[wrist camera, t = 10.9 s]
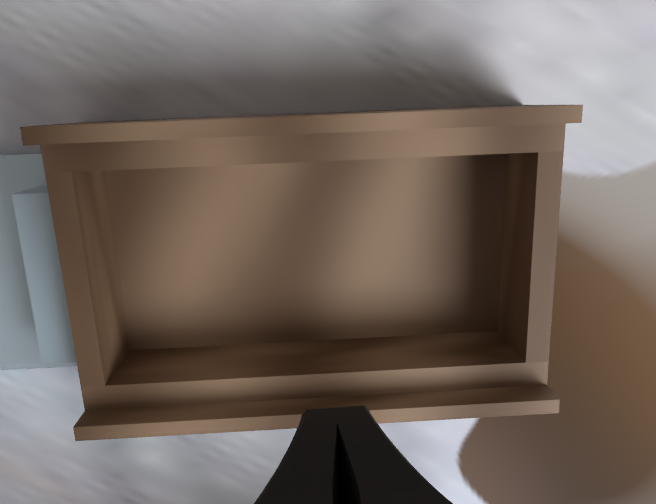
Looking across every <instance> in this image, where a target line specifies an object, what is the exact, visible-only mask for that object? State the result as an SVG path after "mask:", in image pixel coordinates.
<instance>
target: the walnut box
mask: <svg viewBox="0 0 656 504" xmlns="http://www.w3.org/2000/svg"><path fill="white" fill-rule="evenodd" d="M582 109H583V105H513V106H487V107H462V108H436V109H411V110H386V111H360V112H335V113H310V114H284V115H259V116H233V117H208V118H183V119H157V120H132V121H107V122H81V123H68V124H55V125H42V126H28V127H20V129H21V135H22V140H23V145H40V148H41V154H42V159H43V165H44V171H45V177H46V183H47V189H48V195H49V201H50V207H51V213H52V219H53V224H54V230H55V236H56V242H57V248H58V254H59V260H60V266H61V272H62V278H63V283H64V289H65V295H66V301H67V307H68V313H69V319H70V325H71V331H72V337H73V343H74V348H75V354H76V360H77V366H78V372H79V378H80V384H81V390H82V396H83V402H84V408H85V412H84V413H83V415H82V416H81V417H80V419H79V420H78V422H77V423H76V424H75V426H74V427H73V428H74V434H75V440H76V441H83V440H100V439H118V438H135V437H152V436H169V435H186V434H204V433H221V432H238V431H255V430H273V429H290V428H298V426H299V423H300V420H301V416H302V414H303V413H304V412H305V411H306V410H307V409H321V408H335V407H349V406H363V405H364V406H365V407H366V408H367V409H368V410H369V411H370V413H371V415H372V416H373V418H374V419H375V421H376V422H377V423H393V422H410V421H428V420H445V419H462V418H479V417H496V416H514V415H531V414H548V413H559V401H560V399H558V397H557V396H556V395H555V394H554V393H553V391H552V390H551V389H550V388H549V387H548V386H547V376H548V361H549V347H550V334H551V320H552V305H553V292H554V277H555V264H556V250H557V235H558V221H559V208H560V207H559V206H560V194H561V179H562V166H563V152H564V138H565V124H566V123H581V122H582Z"/></svg>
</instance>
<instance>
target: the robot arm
mask: <svg viewBox="0 0 656 504" xmlns="http://www.w3.org/2000/svg"><path fill="white" fill-rule="evenodd" d="M254 504H453V503H451V502H450V501H449V500H448V499H446V498H445V497H444V496H443V495H442V494H441V493H440V492H438V491H437V490H436V489H435V488H434V487H433V486H432V485H431V484H430V483H429V482H428V481H427V480H426V479H425V478H424V477H423V476H422V475H421V474H420V473H419V472H418V471H417V470H416V469H415V468H414V467H413V466H412V465H411V464H410V463H409V462H408V461H407V460H406V458H405V457H404V456H403V455H402V454H401V453H400V452H399V450H398V449H397V448H396V447H395V446H394V445H393V443H392V442H391V441H390V440H389V438H388V437H387V436H386V435H385V433H384V432H383V431H382V429H381V428H380V427H379V425H378V424H377V422H376V421H375V419H374V418H373V416H372V415H371V413H370V411H369V410H368V409H367V408H366V407H365V406H364V405H363V406H349V407H335V408H321V409H307V410H306V411H305V412H304V413H303V414H302V416H301V420H300V423H299V426H298V428H297V431H296V433H295V435H294V437H293V440H292V442H291V444H290V446H289V448H288V450H287V452H286V453H285V455H284V457H283V459H282V461H281V463H280V465H279V466H278V468H277V470H276V471H275V473H274V474H273V476H272V478H271V479H270V481H269V482H268V484H267V485H266V487H265V488H264V490H263V492H262V493H261V495H260V496H259V497H258V499H257V500H256V502H255V503H254Z"/></svg>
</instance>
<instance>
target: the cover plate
mask: <svg viewBox="0 0 656 504" xmlns="http://www.w3.org/2000/svg"><path fill="white" fill-rule="evenodd" d="M72 366H77V360H76V354H75V348H74V343H73V337H72V331H71V325H70V319H69V313H68V307H67V301H66V295H65V289H64V283H63V278H62V272H61V266H60V260H59V254H58V248H57V242H56V236H55V230H54V224H53V219H52V213H51V207H50V201H49V195H48V189H47V183H46V177H45V171H44V165H43V159H42V154H12V155H0V370H9V369H30V368H51V367H72Z"/></svg>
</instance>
